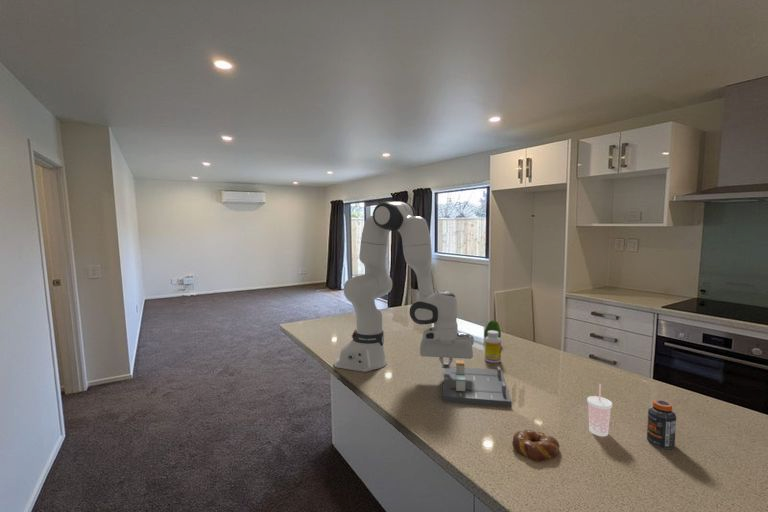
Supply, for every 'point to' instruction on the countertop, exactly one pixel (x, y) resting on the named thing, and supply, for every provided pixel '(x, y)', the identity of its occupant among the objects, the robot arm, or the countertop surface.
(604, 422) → the beverage cup
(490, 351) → the supplement bottle
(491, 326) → the avocado
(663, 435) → the pill bottle
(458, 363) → the fader
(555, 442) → the pretzel
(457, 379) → the fader
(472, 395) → the console
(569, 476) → the countertop surface
